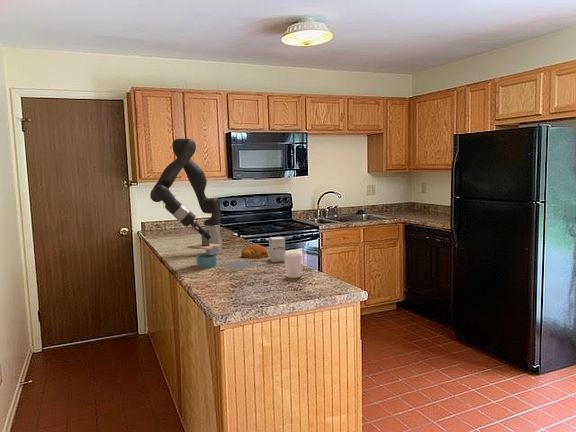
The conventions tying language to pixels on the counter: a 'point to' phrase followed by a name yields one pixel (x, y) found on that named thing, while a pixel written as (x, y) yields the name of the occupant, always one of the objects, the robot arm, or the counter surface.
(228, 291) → the counter surface
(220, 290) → the counter surface
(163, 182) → the robot arm
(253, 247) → the croissant
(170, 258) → the counter surface
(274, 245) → the supplement box
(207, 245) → the lid
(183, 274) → the counter surface
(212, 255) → the bowl
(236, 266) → the mat
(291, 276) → the white cup
